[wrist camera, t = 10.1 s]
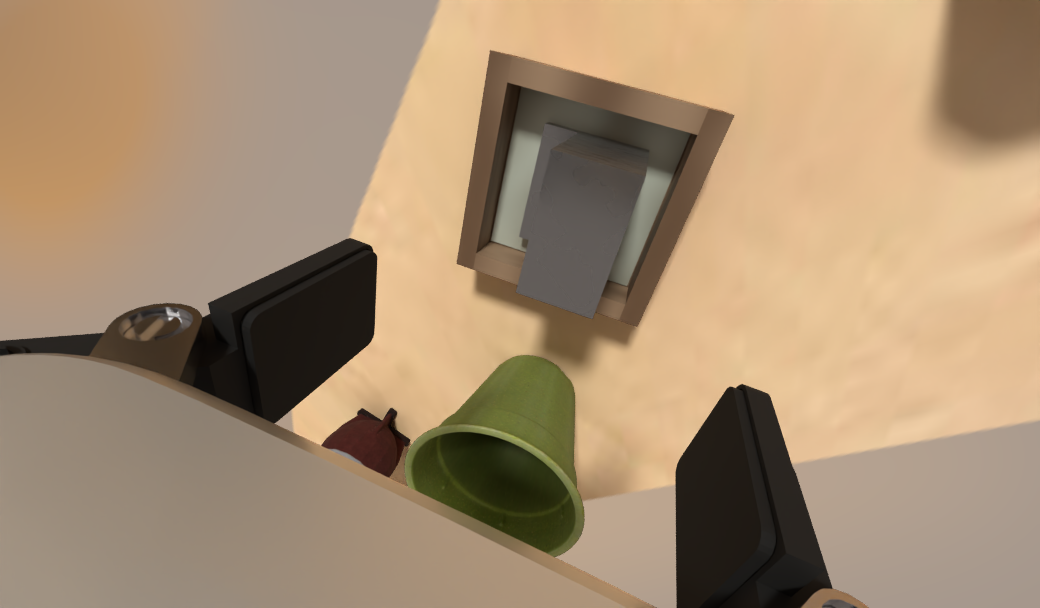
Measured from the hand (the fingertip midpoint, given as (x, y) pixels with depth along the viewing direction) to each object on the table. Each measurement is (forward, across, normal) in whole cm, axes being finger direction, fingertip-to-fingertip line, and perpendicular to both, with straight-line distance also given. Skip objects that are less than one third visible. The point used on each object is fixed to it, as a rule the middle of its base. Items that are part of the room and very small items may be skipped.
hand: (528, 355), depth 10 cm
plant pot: (+18, +1, +17) cm, 25 cm away
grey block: (+17, +1, 0) cm, 17 cm away
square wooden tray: (+18, +2, 0) cm, 18 cm away
